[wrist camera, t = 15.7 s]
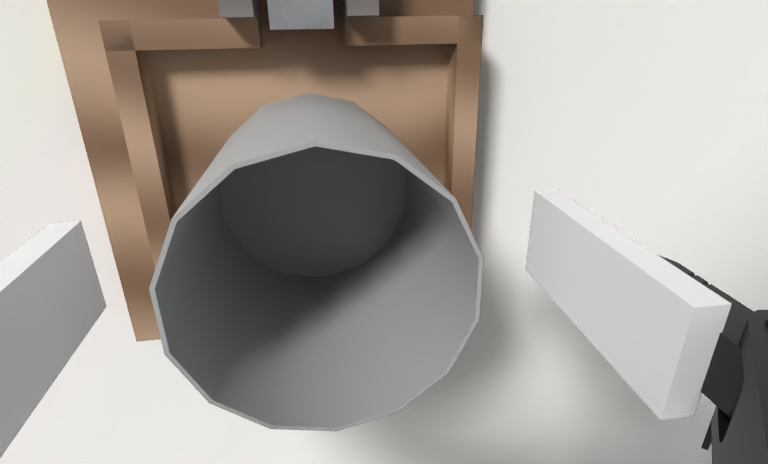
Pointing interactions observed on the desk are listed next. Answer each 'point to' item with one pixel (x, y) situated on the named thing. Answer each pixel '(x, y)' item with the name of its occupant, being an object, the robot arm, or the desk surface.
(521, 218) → the desk surface
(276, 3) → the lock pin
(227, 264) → the cup
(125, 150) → the dock
